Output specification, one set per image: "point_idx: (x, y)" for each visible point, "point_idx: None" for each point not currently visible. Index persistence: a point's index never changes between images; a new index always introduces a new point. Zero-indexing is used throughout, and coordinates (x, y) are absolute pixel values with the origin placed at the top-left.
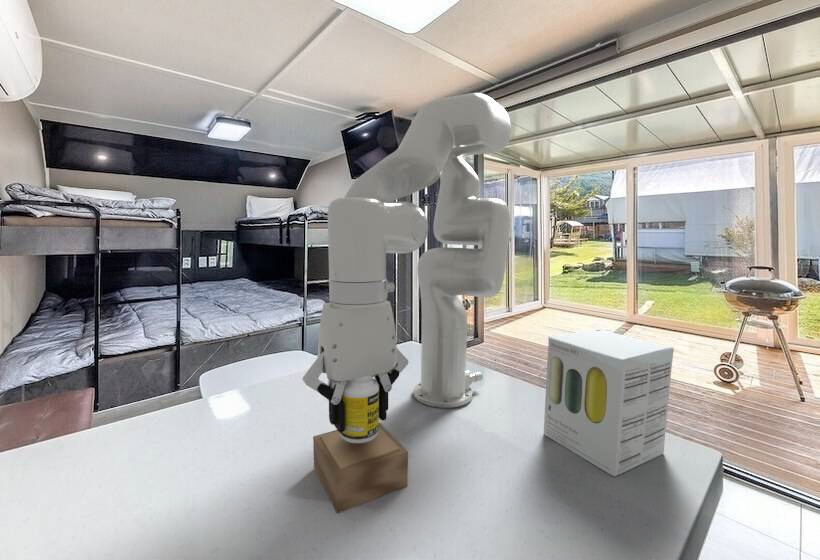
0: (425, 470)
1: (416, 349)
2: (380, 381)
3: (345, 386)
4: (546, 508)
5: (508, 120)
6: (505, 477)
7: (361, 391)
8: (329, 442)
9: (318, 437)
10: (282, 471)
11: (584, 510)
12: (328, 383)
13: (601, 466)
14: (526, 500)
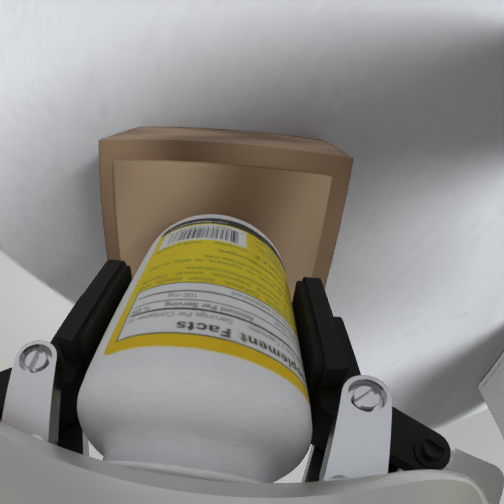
0: (357, 279)
1: None
2: (305, 476)
3: (99, 452)
4: (395, 396)
5: None
6: (423, 349)
7: None
8: (129, 216)
9: (111, 156)
10: (77, 102)
11: (414, 406)
12: (9, 404)
13: (486, 379)
14: (395, 383)
